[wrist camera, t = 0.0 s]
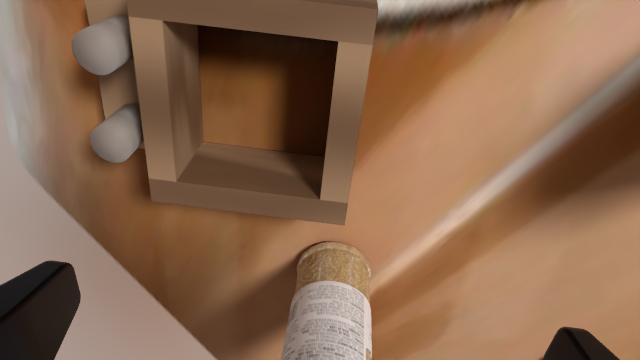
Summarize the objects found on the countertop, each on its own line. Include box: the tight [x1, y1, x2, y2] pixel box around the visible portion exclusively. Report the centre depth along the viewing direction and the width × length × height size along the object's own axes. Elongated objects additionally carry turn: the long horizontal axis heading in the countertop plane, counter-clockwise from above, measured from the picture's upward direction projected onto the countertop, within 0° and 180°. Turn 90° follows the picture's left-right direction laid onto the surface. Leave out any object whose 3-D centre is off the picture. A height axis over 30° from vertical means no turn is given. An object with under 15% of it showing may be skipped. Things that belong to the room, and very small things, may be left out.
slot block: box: [72, 0, 378, 225], centre depth 20 cm, size 10×12×4 cm
